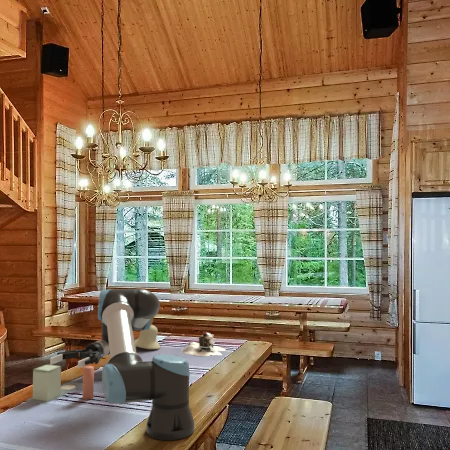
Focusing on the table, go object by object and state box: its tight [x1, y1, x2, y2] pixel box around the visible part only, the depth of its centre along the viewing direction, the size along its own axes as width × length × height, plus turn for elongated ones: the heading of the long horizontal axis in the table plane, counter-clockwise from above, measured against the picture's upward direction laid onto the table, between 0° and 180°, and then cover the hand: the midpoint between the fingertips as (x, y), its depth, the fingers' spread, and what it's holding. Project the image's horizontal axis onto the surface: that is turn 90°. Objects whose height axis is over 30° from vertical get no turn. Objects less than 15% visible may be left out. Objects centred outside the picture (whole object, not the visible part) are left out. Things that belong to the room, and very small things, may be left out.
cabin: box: [180, 328, 227, 357], centre depth 250 cm, size 40×40×13 cm
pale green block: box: [32, 364, 62, 401], centre depth 175 cm, size 7×7×11 cm
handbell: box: [134, 316, 161, 350], centre depth 255 cm, size 15×15×25 cm
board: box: [25, 381, 83, 405], centre depth 180 cm, size 24×9×4 cm, turn 160°
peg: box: [82, 365, 95, 401], centre depth 174 cm, size 4×4×12 cm
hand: (64, 363), depth 184 cm, fingers open, 13 cm apart
